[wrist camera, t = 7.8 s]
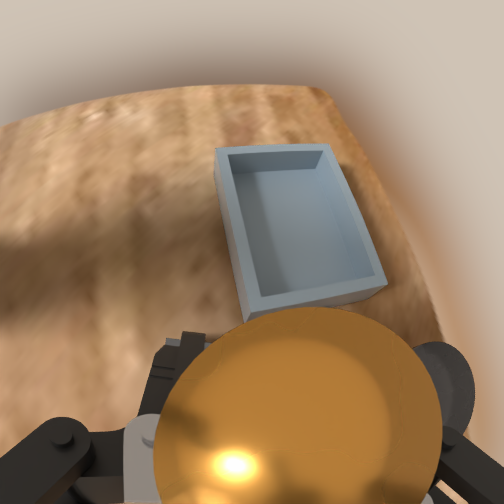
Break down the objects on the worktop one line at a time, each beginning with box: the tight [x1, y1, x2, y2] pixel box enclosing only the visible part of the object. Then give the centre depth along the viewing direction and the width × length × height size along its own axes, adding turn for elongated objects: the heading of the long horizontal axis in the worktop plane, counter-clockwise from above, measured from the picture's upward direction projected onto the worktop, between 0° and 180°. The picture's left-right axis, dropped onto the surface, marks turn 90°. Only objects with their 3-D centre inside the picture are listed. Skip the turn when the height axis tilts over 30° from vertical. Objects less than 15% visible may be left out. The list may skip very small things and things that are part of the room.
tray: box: [214, 144, 388, 323], centre depth 29 cm, size 16×12×4 cm
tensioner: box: [165, 338, 475, 435], centre depth 19 cm, size 22×9×9 cm, turn 87°
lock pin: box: [153, 307, 442, 504], centre depth 9 cm, size 4×4×13 cm
